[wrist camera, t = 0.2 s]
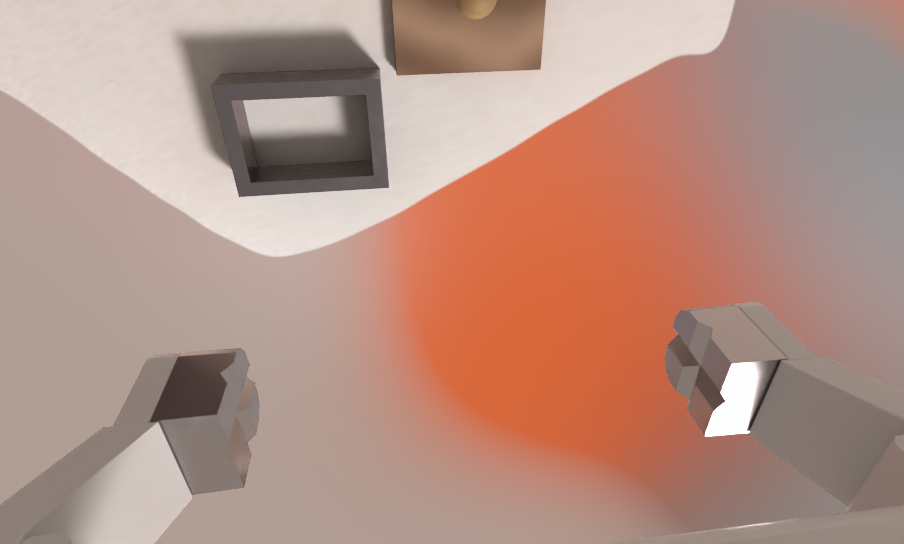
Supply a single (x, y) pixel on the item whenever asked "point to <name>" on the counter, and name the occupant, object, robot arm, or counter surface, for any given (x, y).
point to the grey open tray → (299, 85)
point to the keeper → (467, 35)
